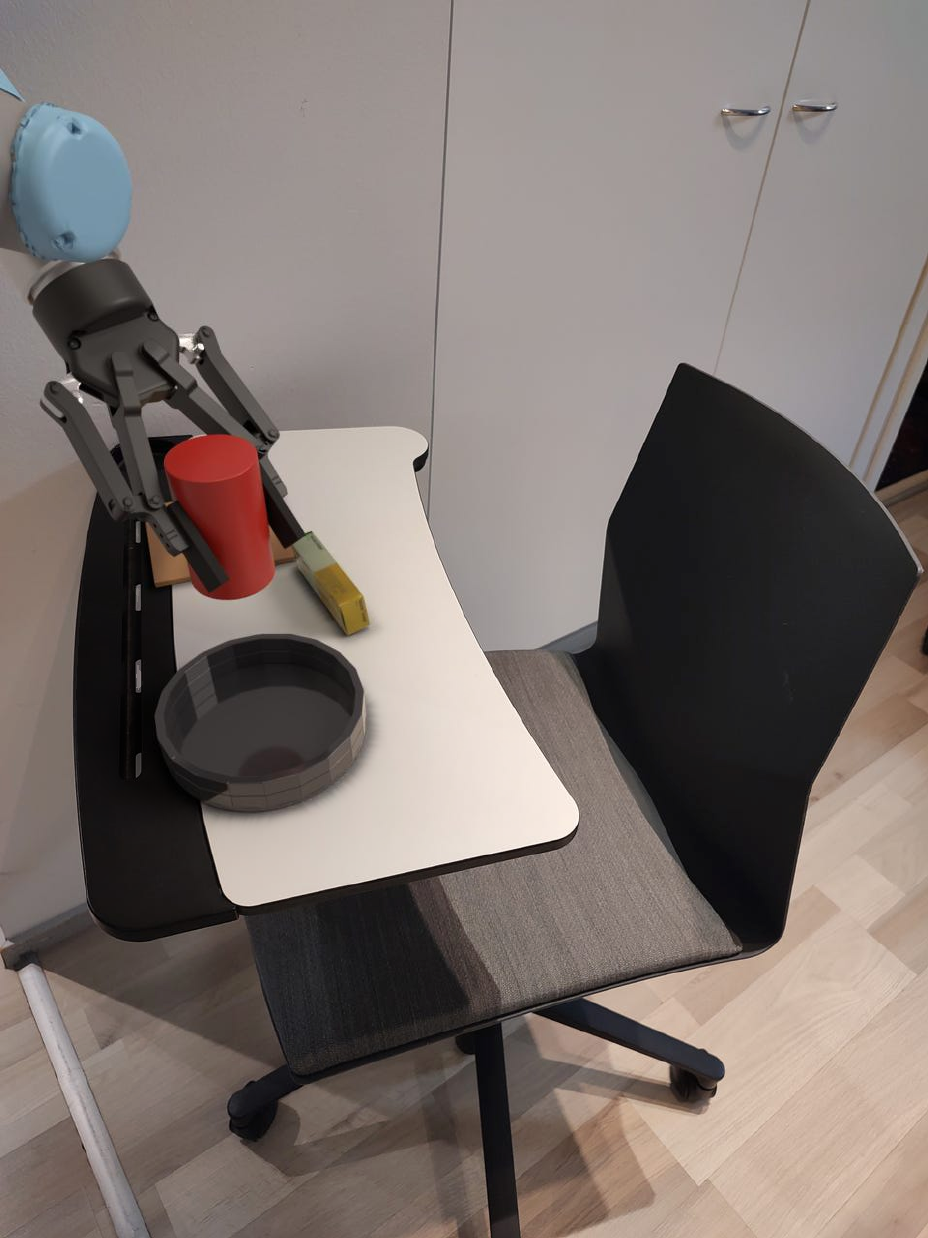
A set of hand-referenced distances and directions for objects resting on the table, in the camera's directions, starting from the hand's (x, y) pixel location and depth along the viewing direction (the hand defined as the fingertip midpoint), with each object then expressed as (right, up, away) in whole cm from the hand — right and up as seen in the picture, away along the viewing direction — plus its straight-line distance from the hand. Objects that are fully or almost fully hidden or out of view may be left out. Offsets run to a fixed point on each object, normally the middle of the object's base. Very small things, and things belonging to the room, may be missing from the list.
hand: (258, 563), depth 65 cm
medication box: (+2, -2, +21) cm, 22 cm away
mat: (-11, +5, +29) cm, 31 cm away
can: (-3, -1, +4) cm, 5 cm away
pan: (-1, -13, +8) cm, 16 cm away
